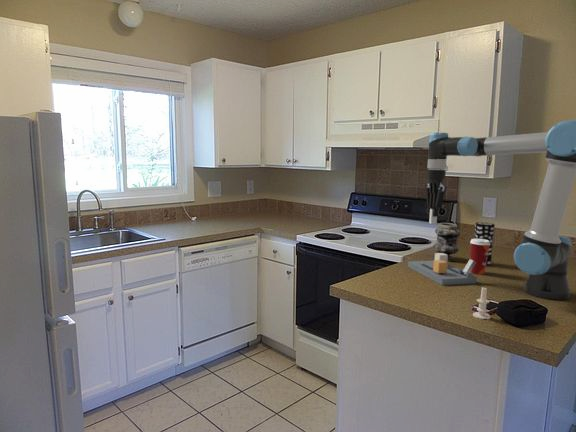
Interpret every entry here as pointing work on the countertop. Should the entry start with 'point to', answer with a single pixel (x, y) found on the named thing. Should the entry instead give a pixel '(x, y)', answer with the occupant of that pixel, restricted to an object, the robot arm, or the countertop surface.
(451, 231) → the apothecary jar
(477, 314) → the candle
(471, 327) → the countertop surface
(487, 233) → the white-spotted black cylinder
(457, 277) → the panel
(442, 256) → the block
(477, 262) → the coffee cup
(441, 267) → the orange fader
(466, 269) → the paddle lever
